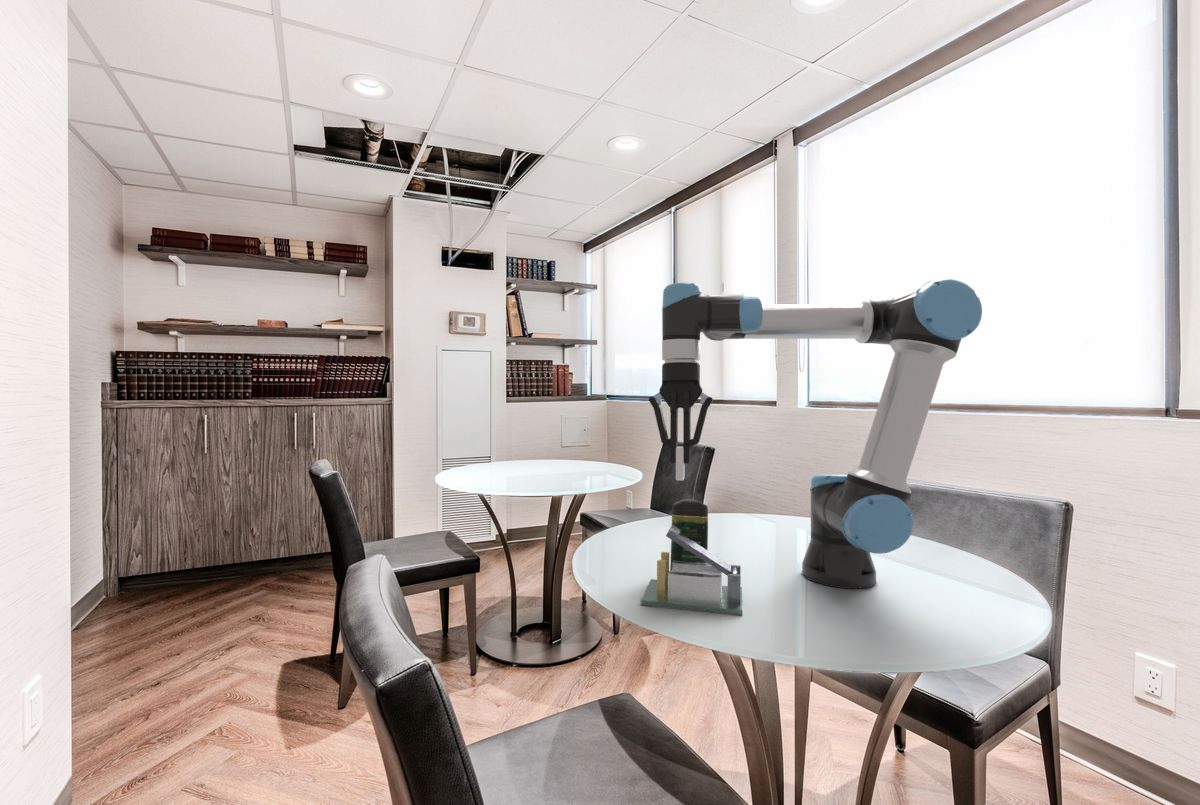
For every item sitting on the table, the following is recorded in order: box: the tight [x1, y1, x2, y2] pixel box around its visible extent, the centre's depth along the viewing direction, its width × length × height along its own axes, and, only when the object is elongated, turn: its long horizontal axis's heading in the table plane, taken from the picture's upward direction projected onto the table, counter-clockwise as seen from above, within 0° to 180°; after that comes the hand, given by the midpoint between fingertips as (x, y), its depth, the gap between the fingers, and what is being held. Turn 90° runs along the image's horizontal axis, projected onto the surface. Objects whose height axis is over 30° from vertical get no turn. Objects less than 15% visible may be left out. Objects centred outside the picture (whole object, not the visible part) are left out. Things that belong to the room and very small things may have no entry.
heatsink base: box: [640, 551, 743, 616], centre depth 107 cm, size 19×12×8 cm, turn 75°
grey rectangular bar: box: [665, 524, 732, 577], centre depth 106 cm, size 14×4×2 cm, turn 76°
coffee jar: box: [669, 498, 709, 571], centre depth 117 cm, size 10×8×19 cm
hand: (680, 479), depth 107 cm, fingers closed
